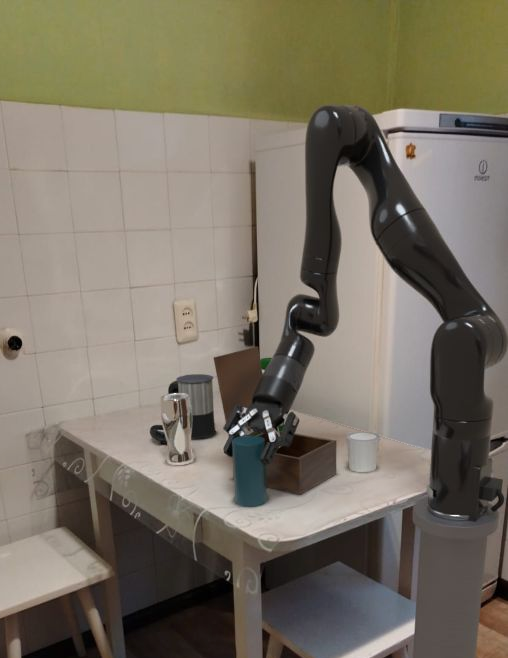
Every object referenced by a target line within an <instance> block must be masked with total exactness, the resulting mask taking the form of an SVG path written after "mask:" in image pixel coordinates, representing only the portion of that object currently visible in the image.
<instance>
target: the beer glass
mask: <svg viewBox="0 0 508 658" xmlns="http://www.w3.org/2000/svg"><path fill="white" fill-rule="evenodd" d="M159 398H160V419H161V420H160V421H161V425H163V430H162V431H163V432H164V433H165V437H166V441H167V443H166V446H167V457H166V462H167V464H169V465H171V466H184V465H189V464H191V463H193V462H194V461H195V458H194V453H193V450H192V439H191V434H192V423H193V415H192V406H191V400H190V395H189V394H186V393H171V394H168V393H166V394H162V395H161V396H160V397H159Z"/></svg>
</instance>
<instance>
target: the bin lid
mask: <svg viewBox="0 0 508 658" xmlns="http://www.w3.org/2000/svg"><path fill="white" fill-rule="evenodd" d="M260 360H261V357H260V350H259V346H253V347H249V348H245V349H241V350H238V351H237V350H236V351H233V352H229V353H226V354H222V355H217V356H214V357H213V363H214V367H215V373H216V378H217V384H218V389H219V394H220V399H221V403H222V410H223V415H224V420H225V423H226V422H227V420H228V418H229V416H230V414H231V412H232V411H233V409H234V407H235V405H236V404H240V405H241V406H242V407H244V408H248V407H249V406H250V405H251V404H252V398H253V394H254V392H255V390H256V388H257V386H258V384H259V381H260V379H261V377H262V375H263V373H262V368H261V362H260ZM232 425H233V424H232ZM245 426H246V427H249V426H248V423H247V424H245ZM231 427H232V426H231ZM240 431H241V430H240ZM240 431H239V432H240ZM239 432H237V433H239ZM254 434H257V433H256V432H254V431H253V432H252V433H251V434H249V435H245V436H252V435H254ZM227 435H228V437H229V434H228V433H227Z"/></svg>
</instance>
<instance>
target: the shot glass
mask: <svg viewBox="0 0 508 658" xmlns="http://www.w3.org/2000/svg"><path fill="white" fill-rule="evenodd" d="M380 439H381V437H380V434H377V433H375V432H369V431H357V432H351V433H349V434H347V435H346V446H347V458H348V469H349V470H351V472H352V471H353V472H355V473H356V472H357V473H371V472H374V471H375V470H376V469H377V463H378V457H379V456H378V455H379V448H380Z"/></svg>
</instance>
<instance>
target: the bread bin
mask: <svg viewBox="0 0 508 658" xmlns="http://www.w3.org/2000/svg"><path fill="white" fill-rule="evenodd" d="M281 432H282V431H279V433H280V434H281ZM256 436H259V437H262V438H264V440H265V446H266V444H267V442H270V439H269V435H268V434H264V433H261V434H258V435H256ZM231 460H232V461H231V462H232V464H233V456H232V457H231ZM265 469H266V488H268V489H269V488H270V489H273V490H277V491H282V492H286V493H290V494H294V495H298V496H301V495H303V494H305V493H306V492H308V491H309V490H311V489H314V488H315V487H316V486H319V485H320V484H322V483H323V482H325V481H327V480H329V479H330V478H332V477H334V476H335V475H337V440H335V439H330V438H325V437H317V436H311V435H305V434H301V433H295V434H294V437H293V439H292V442H291V444H290V446H289V447H286V446H281V447H280V448H278V449H277V451H276V454H275V456H274V458H273V460H272V462H271V463H269V464H268V465H265ZM232 477H233V478H232V479H233V480H234V472H233V471H232Z"/></svg>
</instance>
